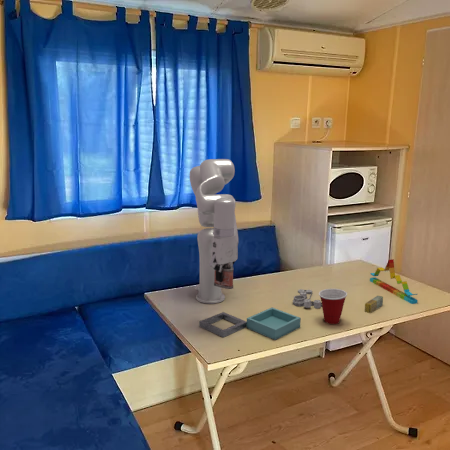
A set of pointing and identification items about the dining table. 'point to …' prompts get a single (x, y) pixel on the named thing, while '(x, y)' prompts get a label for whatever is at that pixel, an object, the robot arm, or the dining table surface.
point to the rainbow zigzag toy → (403, 295)
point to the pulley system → (306, 300)
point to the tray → (273, 323)
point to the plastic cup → (332, 304)
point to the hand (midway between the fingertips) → (223, 279)
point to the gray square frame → (223, 333)
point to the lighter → (225, 277)
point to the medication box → (373, 304)
